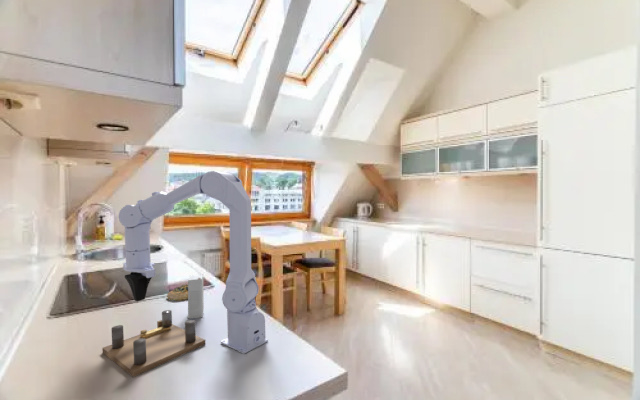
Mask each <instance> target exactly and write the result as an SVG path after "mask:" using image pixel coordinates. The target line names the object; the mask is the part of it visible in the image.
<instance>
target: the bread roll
mask: <svg viewBox="0 0 640 400" xmlns="http://www.w3.org/2000/svg"><path fill="white" fill-rule="evenodd" d="M166 298H168V299H170V300H175V301H176V302H178V301H179V302H180V301H186V300H188V283H187V284H186V283H185V284H182V285H181V286H177V287H175V288H174V289H172V290H170V291H169V292H168V293H167V295H166ZM168 299H167V300H168ZM170 300H169V301H170ZM175 301H174V302H175Z"/></svg>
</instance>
